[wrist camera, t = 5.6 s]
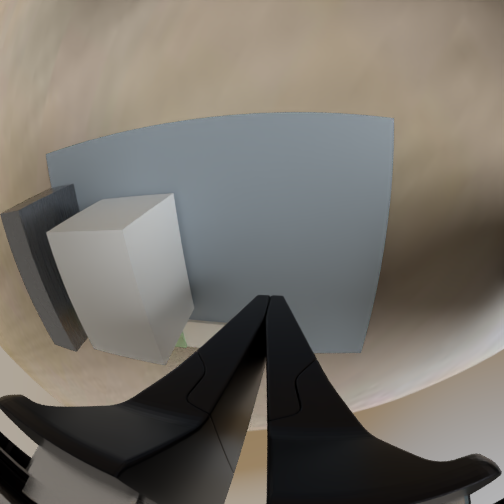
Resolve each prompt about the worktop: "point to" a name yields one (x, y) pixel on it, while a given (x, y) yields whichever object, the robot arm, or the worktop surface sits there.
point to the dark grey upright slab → (45, 260)
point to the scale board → (260, 211)
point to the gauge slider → (126, 274)
